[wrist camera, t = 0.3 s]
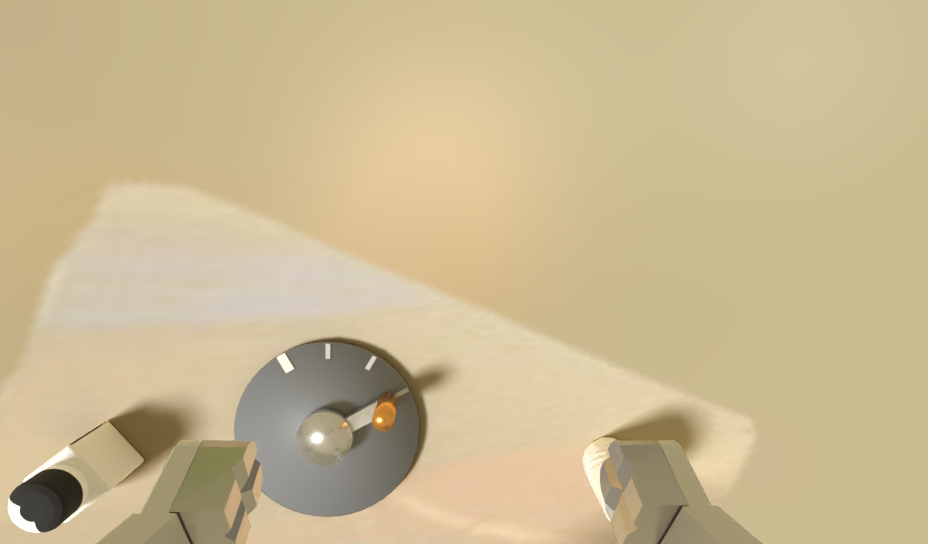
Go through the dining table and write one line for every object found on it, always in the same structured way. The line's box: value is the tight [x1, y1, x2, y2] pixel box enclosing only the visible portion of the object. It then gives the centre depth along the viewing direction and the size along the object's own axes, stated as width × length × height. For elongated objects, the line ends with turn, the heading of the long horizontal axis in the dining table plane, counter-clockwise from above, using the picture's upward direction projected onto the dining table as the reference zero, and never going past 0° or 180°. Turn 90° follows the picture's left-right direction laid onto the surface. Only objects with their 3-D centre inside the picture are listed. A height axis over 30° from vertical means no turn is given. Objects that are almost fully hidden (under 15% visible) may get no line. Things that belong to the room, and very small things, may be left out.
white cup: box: [583, 437, 617, 522], centre depth 64 cm, size 8×8×10 cm
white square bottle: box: [8, 421, 144, 533], centre depth 58 cm, size 7×7×12 cm
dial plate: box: [234, 341, 419, 517], centre depth 65 cm, size 24×24×1 cm
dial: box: [296, 392, 398, 466], centre depth 61 cm, size 14×7×6 cm, turn 118°
